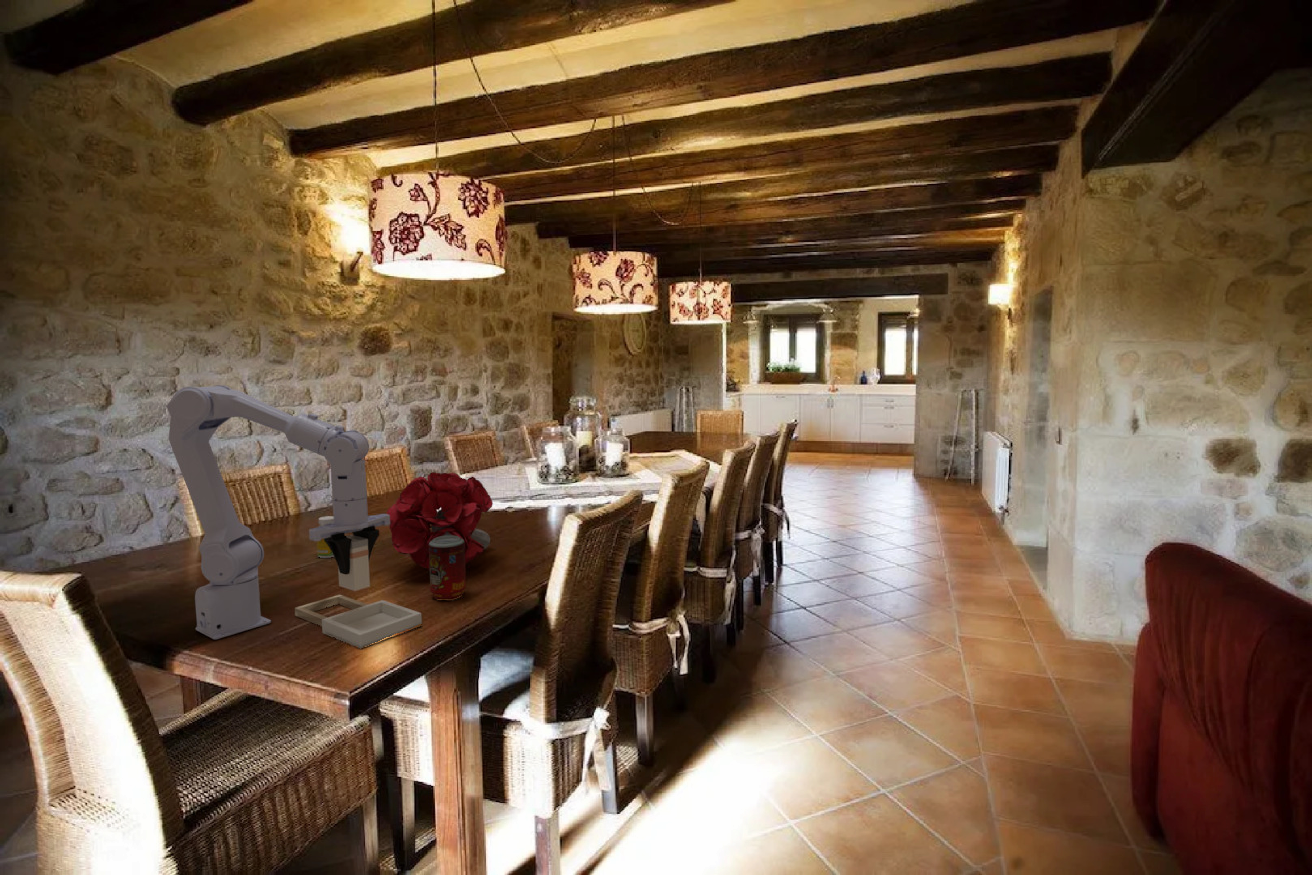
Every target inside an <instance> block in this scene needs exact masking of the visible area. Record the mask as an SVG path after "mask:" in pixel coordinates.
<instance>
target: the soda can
mask: <svg viewBox="0 0 1312 875" xmlns="http://www.w3.org/2000/svg"><path fill="white" fill-rule="evenodd" d="M429 566H430V569H429V587H430V588H429V590H430V593H432V595H433V597H434V598H433V599H434V600H435V599H454V598H457V597H459V596H461V595H462V594H464V592H465V589H467V588H466V587H467V584H466V583H467V579H466V563H465V542H464V540H463V539H461V538H460V537H458V536H453V535H450V536H441V537H437V538H434V539H433V540H432V541H431V542H430V543H429Z"/></svg>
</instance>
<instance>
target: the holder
mask: <svg viewBox="0 0 1312 875" xmlns="http://www.w3.org/2000/svg"><path fill="white" fill-rule="evenodd" d="M339 604H340V606H342V607H345V608H347V607H349V608H348V609H350V608H351V609H350V610H353V609H356V608H359V607H363V606H366V605H369V603H365V602H363V601H359V600H356V599H353V598H350V597H348V596H345V595H342V594H336V595H334V596H330V597H327V598H324V599H320V600H317V601H313V602H310V603H307V604H304V605H300V606H296V607H294V616H295V617H297V618H300V619H303V620H305V621H308V622H310V623H313V624H314V625H317V624H318V625H317V626H319V625H320V627H322V619H325V618H328V616H325V615H323V614H320V613H319V612H317V611H320V610H323V609H326V607H327V608H330V607H334V606H336V605H339ZM333 605H334V606H333Z"/></svg>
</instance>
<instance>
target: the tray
mask: <svg viewBox="0 0 1312 875" xmlns="http://www.w3.org/2000/svg"><path fill="white" fill-rule="evenodd" d="M327 617H328V616H327ZM422 622H423V621H422V613H421V612H420V611H416V610H413V609H410V608H407V607H404V606H401V605H399V604H396V603H393V602H389V601H387V600H384V599H381V600H378V601H375V602H372V603H368V605H366V606H363V607H359V608H356V609H349V610H347V611H344V612H342V613H337V614H335V615H331V616H329V617H328V618H325V619H322V626H321V628H322V629H321V630H322V634H323V635H326V636H328V637H331V638H333V637H335V638H336V640H338V639H339V640H338V641H340V640H341V641H340V642H342V641H343V642H342V643H345V642H346V643H345V644H347V643H349V644H351V645H350V646H352V645H353V646H352V647H354V646H357V647H358V648H357V649H359V648H360V649H359V650H362V649H361V648H363V647H365V646H368V645H370V644H372V643H375V642H378V641H380V640H382V639H384V638H386V637H390V636H392V635H394V634H396V633H400V632H402V631H405V630H406V629H411V628H413V627H415V626H417V625H419V624H422V625H423V623H422ZM335 638H334V639H335ZM349 644H348V645H349ZM368 647H369V646H368ZM363 649H364V648H363Z"/></svg>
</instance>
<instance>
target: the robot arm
mask: <svg viewBox="0 0 1312 875" xmlns="http://www.w3.org/2000/svg"><path fill="white" fill-rule="evenodd" d="M166 408H167V411H168V414H169V415H170V422H169V431H168V441H169V444H170V446H171V447H170V448H171V450H172V452H173V455H174V457H175V461H176V462H177V464H178V467H179V470H180V472H181V475H182V478H183V480H184V482H185V485H186V488H187V491H188V493H189V496H190V498H191V501H192V503H193V507H194V508H195V512H196V513H197V514H196V515H197V517H198V518H199V522H200V524H201V527H202V530H203V532H204V536H203V538H202V540H201V542H200V545H199V547H198V550H199V552H200V556H201V561H200V562H201V563H200V570H201V573H202V575H203V576H204V578H205V579H206V580H207V581H209V583H207V584H206V585H204V586H199V587H198V588H197V589H196V590H195V594H194V602H195V603H194V604H195V615H196V627H195V631H197V632H199V633H200V634H203V635H204V636H207V637H209V638H210V639H212V640H219V639H221V638H223V639H224V638H225V637H229V636H232V635H235V634H239V633H242V632H245V631H248V630H252V629H255V628H257V627H262V626H265V625H269V624H270V623H271V622H272V620H271V619H269V618H267V617H264V616H262V614H261V600H260V597H261V596H260V587H259V585H260V584H259V566H260V565H261V563H262V562H263V560H264V557H265V551H264V550H265V549H264V546H263V545H262V544H261V542H260V541H259V540H257V539H256V537H254V534H253V533H252V530H251V528H250V527H248V526H247V525H245V524H243V523H241V522H240V520H239V518H238V516H237V512H236V510H235V507H234V505H233V504H234V503H233V501H232V499H231V497H230V494H229V491H228V488H227V485H226V484H225V481H224V479H223V476H222V474H221V470H220V467H219V464H218V463H217V460H216V457H215V454H214V452H213V449H212V447H211V444H210V440H211V438H212V437H213V436H214V434H215V433H216V431H217V430H218V429H219V428H220V426H222V425H224V423H226V422H227V421H229V420H230V419H231V418H238V417H239V418H243V419H245V420H247V421H251V422H253V423H256V424H260V425H262V426H264V427H267V428H270V429H273V430H276V431H278V432H281V433H284V435H285V437H286V440H287V441H288V443H291V444H293V445H295V446H298V447H300V448H303V449H305V450H307V451H310V452H312V453H314V454H317V455H320V456H322V457H324V459H325V460H326V461H327V462H328V463H329V465H330V472H331V473H330V477H331V478H330V479H331V480H330V483H331V497H332V512H333V513H332V514H333V517H334V522H332V523H329V524H326V525H323V526H320V525H319V526H320V527H319V526H318V527H314V528H309V530H308V533H309V534H308V535H309V537H308V538H309V540H310V541H314V542H317V541H320V540H321V539H324V541H325V542H326V544H327V545H328V546H329V548H330V549H331V551H332V553H333V555H334V557H333V558H335V561H336V564H337V569H338V568H339V571H340V573H342V574H345V575H346V574H349V573H350V559H349V555H350V546H351V541H352V539H350V538H347V536H348V534H350V533H352V535H354V536H359V537H363V538H367V539H368V552H369V555H368V560H369V561H370V559H371V556H372V552H373V548H374V545H375V544H376V542H377V540H378V538H379V537H380V530H379V529H377V527H382V526H384V527H385V526H390V515H387V513H380V514H375V515H369V511H368V510H369V509H368V492H367V472H366V461H365V458H366V456H367V455H368V453H369V451H370V450H369V449H370V445H369V444H370V443H369V441H368V439H367V438H366V436H365V435H364V434H362V433H360V432H359V431H357V430H355V429H351V430H347V431H344V426H342V425H339V424H336V425H333V424H331V423H328V422H326V421H324V420H322V419H319V415H318V414H316V413H313V412H311V413H308V414H307V413H300V414H297V415H295V416H294V415H292V414H289V413H287V412H285V411H283V410H281V409H280V408H279V409H278V408H276V407H274V406H272V405H271V404H268V403H266V402H264V401H261V400H259V399H258V398H255V397H254V396H251V395H249V394H247V393H245V392H243V391H241V390H239V389H234V388H233V389H232V388H230V387H229V386H226V385H222V384H219V385H218V384H217V385H211V386H198V387H197V386H185V387H184V386H183V387H182V388H180V389H178V390H177V391H176V392H175V394H173V396H172V397H171V399H170V400H169V401H168V403H167V405H166ZM346 534H347V535H346Z"/></svg>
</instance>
